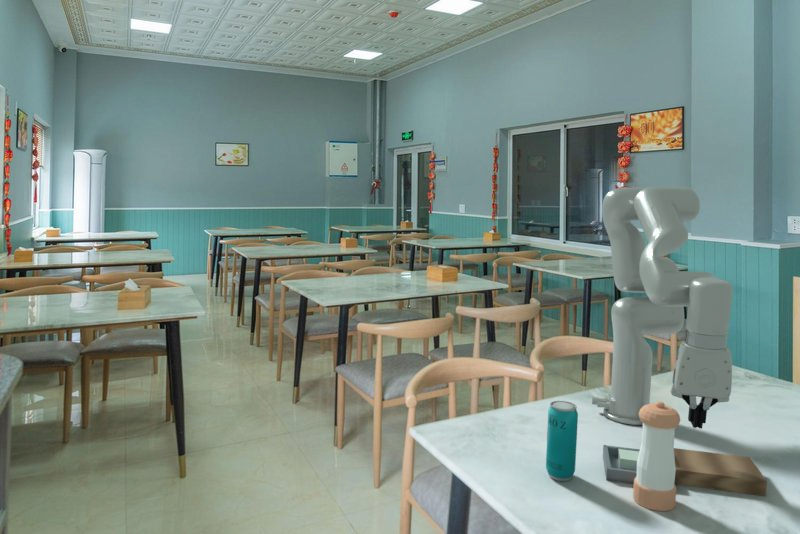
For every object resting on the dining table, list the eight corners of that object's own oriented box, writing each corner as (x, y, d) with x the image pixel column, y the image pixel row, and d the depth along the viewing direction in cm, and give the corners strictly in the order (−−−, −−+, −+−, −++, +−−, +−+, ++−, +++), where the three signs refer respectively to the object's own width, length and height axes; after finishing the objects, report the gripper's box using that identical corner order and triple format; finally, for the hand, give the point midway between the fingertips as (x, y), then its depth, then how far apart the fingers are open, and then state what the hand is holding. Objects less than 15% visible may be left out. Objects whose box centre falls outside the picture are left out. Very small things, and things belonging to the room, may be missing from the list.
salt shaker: (663, 491, 112) (669, 395, 110) (682, 511, 105) (690, 409, 103) (626, 491, 112) (632, 395, 110) (643, 511, 104) (649, 409, 102)
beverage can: (552, 467, 122) (555, 398, 120) (579, 475, 118) (582, 404, 116) (540, 476, 117) (543, 405, 115) (567, 485, 114) (571, 412, 112)
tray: (606, 480, 116) (607, 468, 116) (602, 455, 128) (603, 445, 127) (674, 489, 113) (675, 477, 112) (664, 463, 124) (665, 452, 124)
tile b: (645, 461, 119) (645, 471, 119) (643, 452, 124) (642, 460, 124) (620, 458, 120) (619, 467, 121) (618, 448, 125) (618, 457, 125)
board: (674, 483, 115) (675, 469, 115) (665, 460, 125) (666, 447, 125) (765, 496, 111) (767, 481, 110) (748, 470, 121) (749, 457, 121)
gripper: (668, 341, 114) (659, 428, 117) (753, 348, 110) (741, 438, 113) (662, 331, 121) (654, 413, 125) (741, 338, 117) (731, 422, 121)
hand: (696, 425), depth 119 cm, fingers closed
